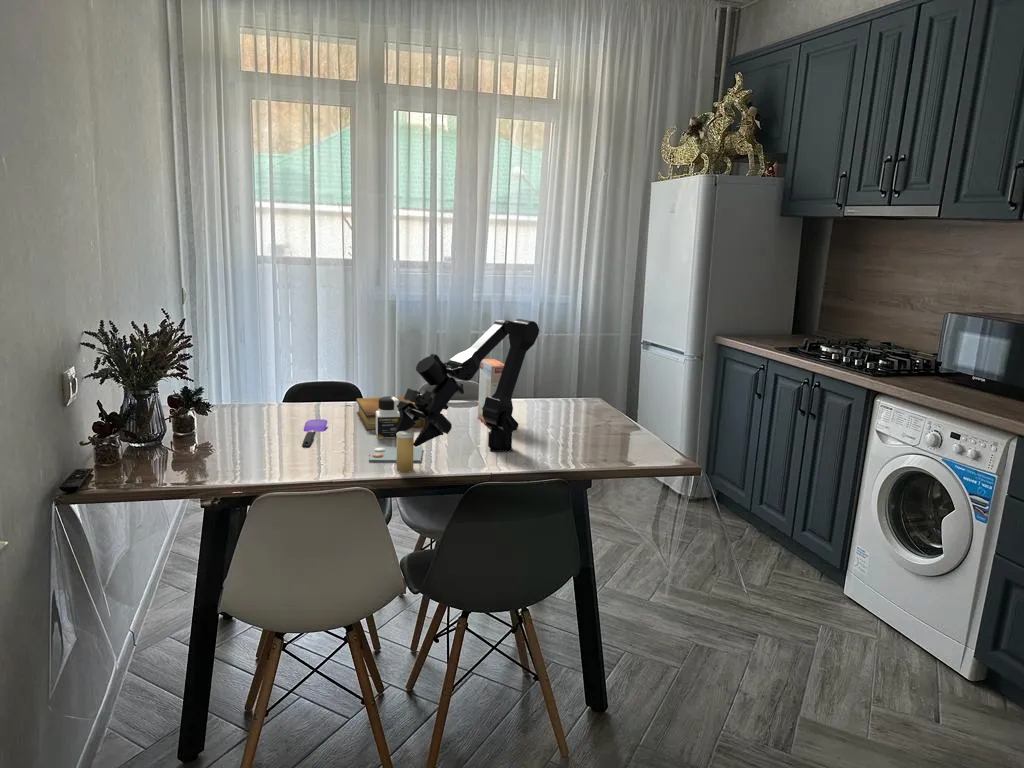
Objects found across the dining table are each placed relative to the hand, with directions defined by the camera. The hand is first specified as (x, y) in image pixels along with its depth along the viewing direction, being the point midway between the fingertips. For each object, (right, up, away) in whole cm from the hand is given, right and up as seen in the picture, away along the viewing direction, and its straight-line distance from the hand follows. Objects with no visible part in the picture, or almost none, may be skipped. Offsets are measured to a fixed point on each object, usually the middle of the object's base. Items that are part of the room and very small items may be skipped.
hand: (404, 441), depth 184 cm
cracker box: (+21, +2, +52) cm, 56 cm away
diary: (-13, +2, +50) cm, 51 cm away
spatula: (-33, -1, +28) cm, 43 cm away
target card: (-4, -5, +13) cm, 15 cm away
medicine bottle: (-10, -1, +32) cm, 34 cm away
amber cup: (0, -8, +2) cm, 8 cm away
